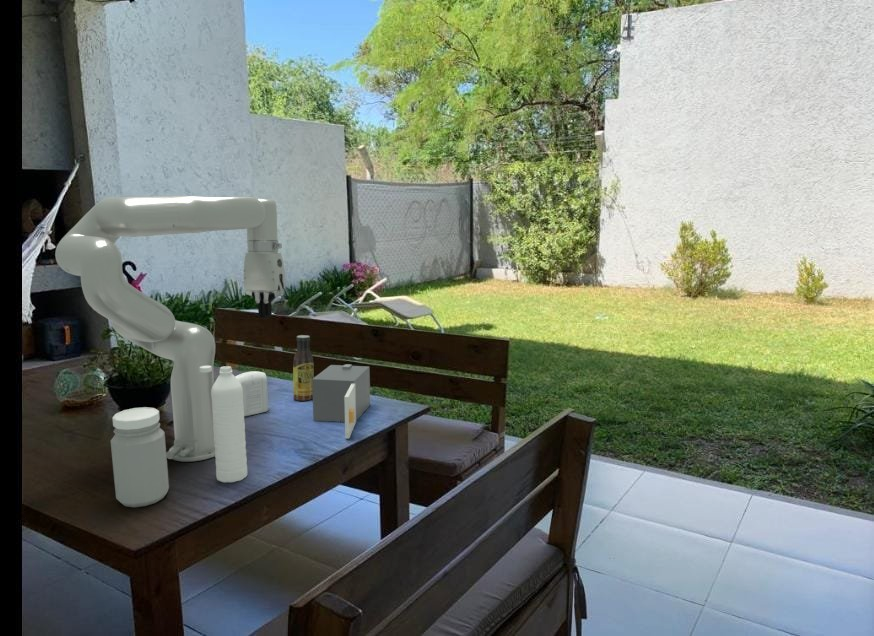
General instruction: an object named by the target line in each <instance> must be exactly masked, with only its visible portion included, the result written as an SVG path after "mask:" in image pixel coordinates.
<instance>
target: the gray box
mask: <svg viewBox="0 0 874 636" xmlns="http://www.w3.org/2000/svg"><path fill="white" fill-rule="evenodd" d="M370 375H371V374H370V366H365V365H364V366H363V365H362V366H361V365H353V364H349V363H348V364H347V363H346V364H343V365H341V364H330V365H329V366H327V367H326V368H325V369H323V370H322V371H321V372H320V373H318V374H317V375H315V376H314V378H313V379H312V391H313V398H312V414H313V415H312V417H313V420H312V421H314V420H315V421H316V422H328V421H339V422H338V423H345V404H344V397H345V395H346V393H347V391H348V389H349V387H350V385H351V383H356V422H357V421H358V420H359V419H360V418H361V417H362V416H363V414H364V413H365V412H366V411H367V409H368V408H370V406H371V389H370V388H371V382H370V381H371V379H370V377H371V376H370ZM369 405H370V406H369ZM365 410H366V411H365ZM364 411H365V412H364ZM363 412H364V413H363ZM362 413H363V414H362ZM360 416H361V417H360ZM359 417H360V418H359ZM358 418H359V419H358ZM357 419H358V420H357ZM315 421H314V422H315ZM340 421H341V422H340Z"/></svg>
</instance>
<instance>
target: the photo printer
mask: <svg viewBox="0 0 874 636" xmlns="http://www.w3.org/2000/svg"><path fill="white" fill-rule="evenodd" d="M234 376H235V377H236V378H237V380H238V381H239V382H240V383H241V385H242V388H243V406H244V417H248V416H252V415H256V414H263V413H265V412H268V411H269V398H268V378H267V375H266V373H265V372H263V371H255V370H254V371H252V370H251V371H245V372H243V373H240V374H237V375H234Z"/></svg>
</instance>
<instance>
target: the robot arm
mask: <svg viewBox="0 0 874 636" xmlns="http://www.w3.org/2000/svg"><path fill="white" fill-rule="evenodd" d="M277 215H278V213H277V203H276V201H275V200H274V199H272V198H256V197H253V196H226V197H224V196H222V197H221V196H219V197H218V196H217V197H216V196H215V197H214V196H213V197H212V196H211V197H210V196H196V195H158V196H157V195H154V196H150V195H149V196H146V195H145V196H111V197H109V196H108V197H106V198H103V199H101V200H100V201H98V202H97V203H96V204H95V205H94V206H93V207H91V209H90V210H89V211H87V212H86V213H85V214H84V215H83V216H82V217H81V218H80V219H79V221H78V222H77V223H76V224H75V225H74V226H73V227H72V228H71V229H69V230H68V232H67V233H66V234H65V235H64V236H63V237H62V238H61V239H60V241H58V243H57V245H56V248H55V255H54V256H55V260H56V264H57V265H58V267H60V269H62V270H63V271H64V272H66V273H68V274H70V275H73V276H78V277H80V283H81V289H82V293H83V295H84V298H85V299H84V300H86V302H87V304H88V305H89V306H90V307H91V309H92V310H93V311H95V312H96V313H97V314H99V315H101V316H102V317H104V318H106V319H107V320H108V321H110V323H111V326H112V328H113V330H114V331H115V332H116V333H117V334H118V335H120V336H121V337H122V338H124V339H126V340H127V341H130V342H131V343H133V344H134V345H136V346H138V347H140V348H143V349H144V350H146V351H148V352H149V353H151V354H154V356H157V357H161V358H163V359H167V360H170V361H172V362H173V367H172V370H171V375H170V394H171V404H172V418H173V431H174V440H173V445H172V446H171V447H170V448H169V450H168V451H166V457H167V459H168V460H173V461H177V462H186V463H189V462H197V461H198V462H199V461H203V460H208V459H211V458H214V457H215V446H214V444H215V442H214V431H213V411H212V409H213V408H212V398H211V389H212V386H213V384H214V383H215V380H214V363H215V362H214V361H215V354H216V341H215V338H214V335H213V334H212V332H210V330H209V329H207V328H206V327H204V326H202V325H200V324H196V323H193V322H187V321H180V320H177V319H176V318H175V315H174V313H173V312H172V311H171V310H170V309H169V308H168V307H167V306H166V305H164V304H163V303H162V302H159V301H158V300H156V299H154V298H152V297H151V296H149V295H147V294H145V292H143V291H142V292H141V291H140V290H139V289H137V288H136V287H134V286H133V285H132V284H130V282H128V281H127V280H126V278H125V276H124V273H123V258H122V254H121V251H120V249H119V248H118V246H117V245H116V242H117V241H118V240H119V238H120V237H130V238H133V237H134V238H135V237H136V238H137V237H138V238H139V237H153V236H162V235H163V236H164V235H180V234H181V235H183V234H198V233H199V234H200V233H204V232H205V233H206V232H213V231H214V232H217V231H233V230H246V239H247V240H246V241H247V245H246V246H247V247H246V248H247V252H245V256H244V262H243V287H244V289H245V290H244V293H245V295H248V296H249V297H250V296H251V297H252V298H254V300H255V303H256V304H257V310H258V312H257V313H258V318H259V319H265V320H266V319H269V318H271V317H272V312H273V311H272V303H273V302H274V300H275V299H276V298H278V297H282V296H284V293H285V292H284V290H285V289H286V285H287V284H286V271H285V270H286V269H285V265H284V259H283V255H282V252H279V249H282V248H283V246H282V245H283V244H282V243H279V241H278V216H277ZM201 366H212V371H211V372H200V367H201ZM209 371H210V370H209Z"/></svg>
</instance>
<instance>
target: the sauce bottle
mask: <svg viewBox="0 0 874 636" xmlns="http://www.w3.org/2000/svg"><path fill="white" fill-rule="evenodd" d="M296 342H297V343H296V344H297V345H296V352H295V354H294V357H293V366H292V368H293V369H292V373H293V374H292V377H293V378H292V383H293V385H292V387H293V388H292V389H293V390H292V391H293V399H294V400H295V401H300V402H302V401H303V402H304V401H309V400H313V391H312V379H313V378H314V377H315V376H314V374H315V373H314V368H315V367H314V358H313V354H312V353H311V350H310V349H311V348H310V342H311V337H310V335H308V334H307V335H306V334H305V335H304V334H300V335H297V336H296Z"/></svg>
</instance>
